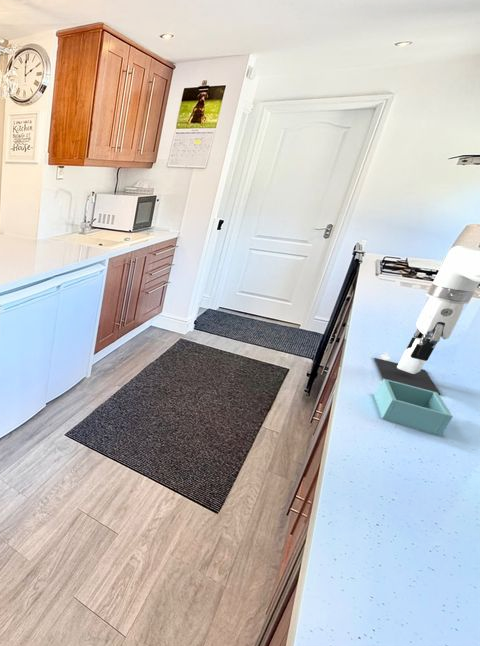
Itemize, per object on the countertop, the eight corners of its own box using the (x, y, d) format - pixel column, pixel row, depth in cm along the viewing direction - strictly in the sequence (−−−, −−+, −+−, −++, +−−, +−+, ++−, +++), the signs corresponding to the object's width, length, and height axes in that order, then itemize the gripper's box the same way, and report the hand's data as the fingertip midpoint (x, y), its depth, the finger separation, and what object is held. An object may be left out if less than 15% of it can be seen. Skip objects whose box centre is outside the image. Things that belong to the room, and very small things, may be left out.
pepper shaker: (420, 372, 113) (436, 342, 109) (414, 375, 111) (431, 344, 108) (401, 366, 116) (417, 336, 113) (395, 368, 115) (411, 338, 111)
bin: (426, 410, 98) (437, 392, 96) (440, 436, 89) (453, 416, 87) (374, 396, 103) (383, 378, 101) (381, 418, 94) (392, 399, 92)
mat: (424, 371, 118) (425, 369, 118) (439, 395, 105) (440, 394, 105) (374, 358, 124) (374, 357, 124) (383, 380, 111) (383, 379, 111)
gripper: (482, 305, 96) (443, 371, 103) (460, 289, 109) (427, 349, 116) (437, 298, 101) (403, 361, 108) (421, 283, 113) (392, 341, 120)
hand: (416, 354), depth 112 cm, fingers closed on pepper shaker, 4 cm apart
